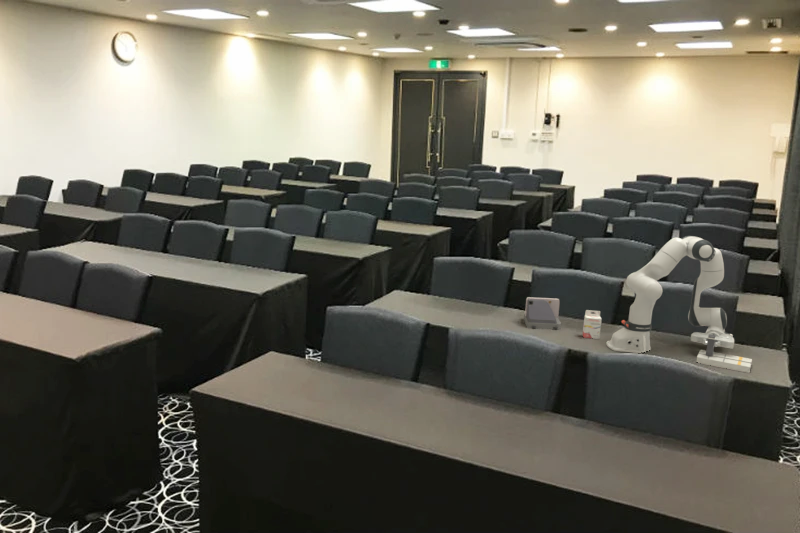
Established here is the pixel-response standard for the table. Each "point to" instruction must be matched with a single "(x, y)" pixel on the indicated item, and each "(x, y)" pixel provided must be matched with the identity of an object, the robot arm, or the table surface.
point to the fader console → (725, 361)
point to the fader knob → (710, 345)
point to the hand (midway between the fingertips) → (710, 344)
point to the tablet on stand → (542, 313)
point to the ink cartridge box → (592, 324)
